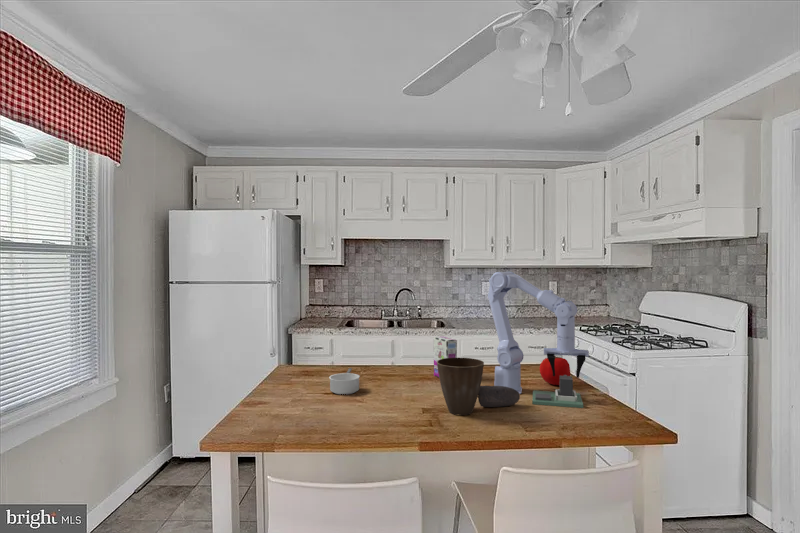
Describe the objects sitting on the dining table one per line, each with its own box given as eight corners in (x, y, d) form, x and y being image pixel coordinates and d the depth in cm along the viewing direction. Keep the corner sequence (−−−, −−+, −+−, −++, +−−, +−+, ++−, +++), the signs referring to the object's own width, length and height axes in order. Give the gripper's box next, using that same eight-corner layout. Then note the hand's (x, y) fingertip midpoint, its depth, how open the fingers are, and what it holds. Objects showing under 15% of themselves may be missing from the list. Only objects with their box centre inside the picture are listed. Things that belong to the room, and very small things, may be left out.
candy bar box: (457, 380, 194) (457, 339, 194) (446, 381, 192) (446, 340, 192) (443, 374, 204) (443, 335, 204) (433, 375, 202) (433, 336, 202)
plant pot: (429, 407, 159) (429, 359, 158) (469, 402, 164) (469, 355, 164) (450, 421, 145) (449, 368, 144) (493, 415, 150) (492, 364, 150)
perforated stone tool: (517, 403, 163) (517, 382, 163) (522, 407, 158) (522, 386, 158) (473, 404, 162) (473, 384, 161) (478, 409, 156) (478, 388, 156)
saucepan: (364, 382, 193) (364, 368, 193) (358, 396, 173) (357, 380, 173) (336, 381, 193) (336, 368, 193) (326, 396, 173) (326, 380, 173)
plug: (560, 399, 163) (560, 379, 163) (559, 394, 169) (559, 374, 169) (572, 400, 162) (572, 379, 162) (571, 395, 168) (571, 375, 168)
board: (532, 404, 162) (532, 396, 162) (532, 393, 175) (532, 386, 175) (583, 408, 157) (583, 400, 157) (579, 396, 171) (579, 389, 170)
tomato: (575, 388, 181) (575, 358, 181) (544, 388, 181) (544, 358, 181) (564, 380, 193) (564, 352, 193) (535, 380, 193) (535, 352, 193)
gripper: (543, 337, 163) (543, 377, 163) (589, 339, 159) (589, 380, 159) (543, 334, 170) (543, 373, 170) (587, 336, 166) (587, 375, 166)
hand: (565, 376), depth 165 cm, fingers open, 7 cm apart
